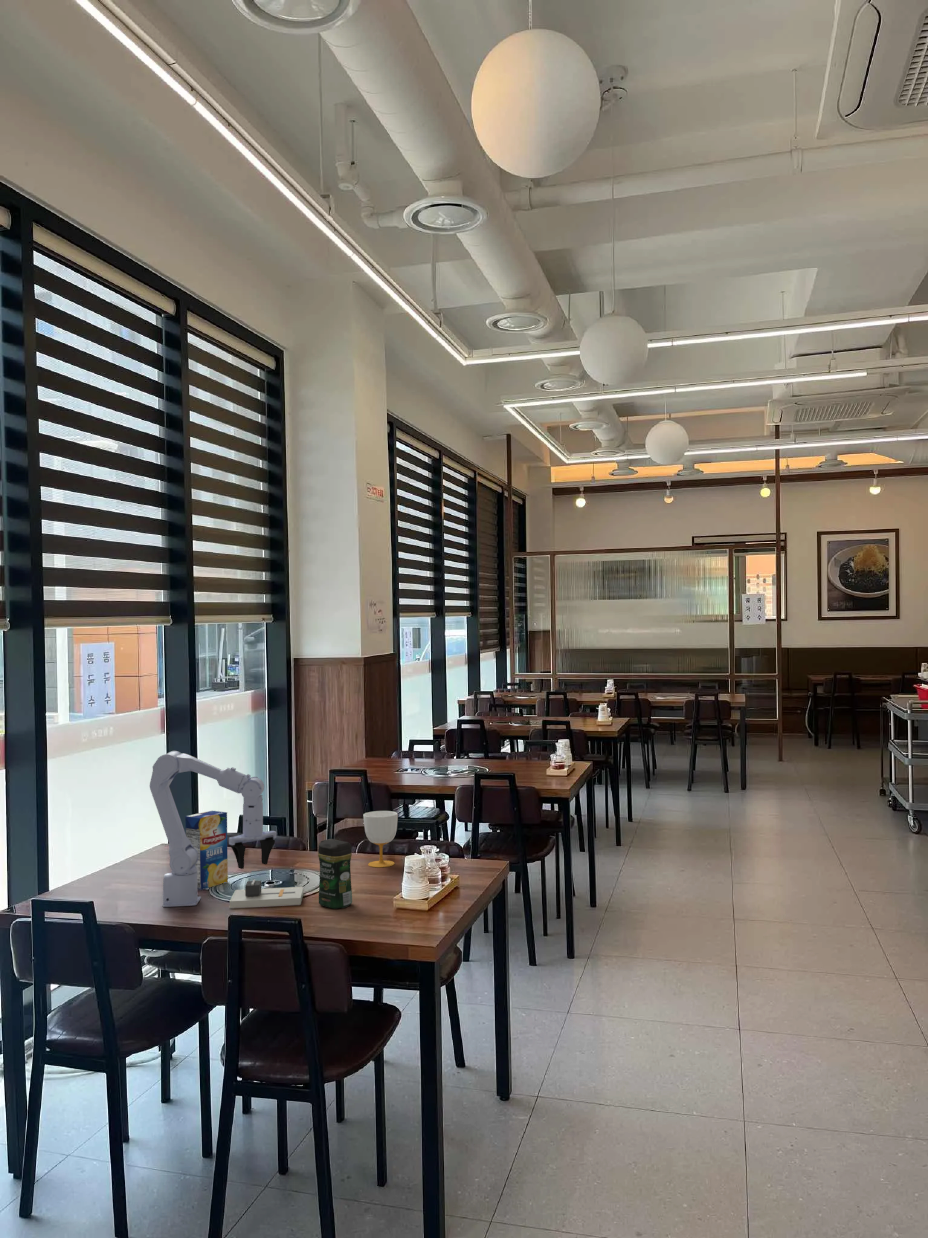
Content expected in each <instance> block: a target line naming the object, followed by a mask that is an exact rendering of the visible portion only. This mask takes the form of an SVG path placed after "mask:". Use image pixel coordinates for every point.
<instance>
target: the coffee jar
mask: <svg viewBox="0 0 928 1238" xmlns="http://www.w3.org/2000/svg"><path fill="white" fill-rule="evenodd" d="M352 850H353V849H352V844H351V843H349V841H343V840H338V839H334V838H329V839H322V840H321V841H320V842H319V844H318V851H317V857H318V860H319V861H318V863H319V886H318V904H319V905H320V906H322V907H326V908H328V909H329V908H330V909H333V910H334V909H344V908H347V907H349V906H351V904H353V888H352V877H351V876H352V875H351V872H352V871H351V860H352V856H353V851H352Z"/></svg>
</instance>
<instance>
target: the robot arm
mask: <svg viewBox="0 0 928 1238" xmlns="http://www.w3.org/2000/svg"><path fill="white" fill-rule="evenodd" d="M184 772H185V773H186V772H194V773H196V774H199V775H201V776H205V777H208V778H211V779H213V780H216V781H217V783H218V786H219V787H221V788H224V789H226V790H229V791H232V792H234V793H237V794H241V796H242V797H243V805H242V834H238V835H235V836H231V837H228V845H230V846H229V847H230V849H231V850H232V851H233V854H234V856H235V859H236V863H237V867H238V869H240V870H244V869H245V854H246V853H245V852H246V848H247V846H245V845H244V844H245V843H246V844H247V843H250V842H256V841H257V842H258V841H259V843H260V850H261V864H262V865H265V866H266V865H268V862H269V858H270V855H271V851H272V850H273V847H274V845H275V844H276V839H277V831H275V830H269V831H268V830H267V831H266V830H265V831H264V803H263V799H264V798H263V792H264V790H265V784H264V781H263V780H262V779H260V778H259V777H258V776H252V775H251V774H249V773H247V774H244V773H243V772H239V771H237V768H235V767H226V768H223V769H220V768H218V767H216V766H214V765H212V764H209V763H208V762H205V761H203V760H200V759H199V758H197V757H195V756H192V755H190V754H188V753H181V752H180V751H177V750H172V751H169V752H167V753H166V754H162V755H160V756H159V757H158V758H157V759H156V761H155V762H154V763H153V765H152V772H151V778H150V782H149V790H150V793H151V796H152V798H153V801H154V804H155V807H156V810H157V812H158V815H159V818H160V820H161V824H162V827H163V830H164V833H165V836H166V838H167V841H168V854H169V868H170V870H171V872H166V873H164V874H163V875H164V876H163V880H162V903H163V904H162V907H163V908H169V907H171V908H172V907H189V906H190V907H191V906H192V907H193V906H197V905H198V903H199V902H200V900H201V899H202V896H201V895H199V894H198V889H197V868H196V866H195V864H196V863H197V861H198V859H199V854H198V851H197V850H196V849H195V848H194V847H193V845H192V843H191V841H190V840H189V839H188V837H187V836H186V830H185V829H184V826H183V823H182V820H181V817H180V814H179V811H178V808H177V805H176V802H175V800H174V797H173V794H172V791H171V788H170V785H171V784H172V781H173V780H174V779H175V776H176V775H178V774H180V773H181V774H182V773H184ZM251 776H252V777H251ZM243 843H244V844H243ZM198 895H199V896H198Z"/></svg>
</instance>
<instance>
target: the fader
mask: <svg viewBox="0 0 928 1238" xmlns="http://www.w3.org/2000/svg"><path fill="white" fill-rule="evenodd" d="M244 888H245V889H244V890H245V896H259V895H260V893H261V889H262V880H256V879H253V880H248V881H247V882H246V883H245V885H244Z"/></svg>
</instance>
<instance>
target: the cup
mask: <svg viewBox="0 0 928 1238" xmlns="http://www.w3.org/2000/svg"><path fill="white" fill-rule="evenodd" d="M398 815H399V814H398V812H396V811H391V810H375V811H369V812H365V813H363V816H362V818H363V826H364V832H365V835H366V838H367V839H368V841H369V842H370V843H372V844H374V845H376V846H378V848H379V858H378V859H379V860H374V861H369V863H367V865H368V867H370V868H377V869H378V868H379V869H380V868H388V867H389V868H390V867H392V866H395V862H394V861H392V860H384V858H383V856H384V854H383V851H384V850H383V849H384V848H383V847H384V845H387V844H389V843H390V842H392V841H393V840H394V838H395V836H396V833H397V831H398V819H399V818H398V817H399V816H398Z"/></svg>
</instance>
